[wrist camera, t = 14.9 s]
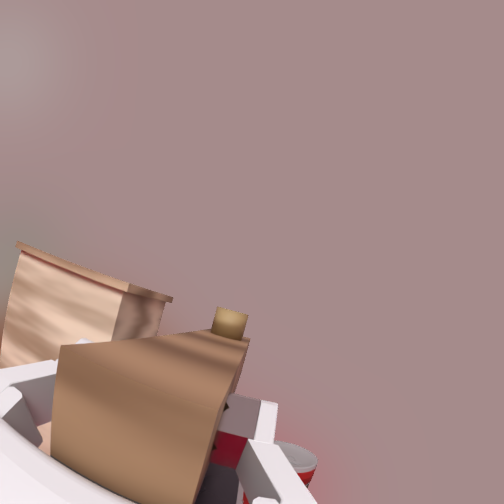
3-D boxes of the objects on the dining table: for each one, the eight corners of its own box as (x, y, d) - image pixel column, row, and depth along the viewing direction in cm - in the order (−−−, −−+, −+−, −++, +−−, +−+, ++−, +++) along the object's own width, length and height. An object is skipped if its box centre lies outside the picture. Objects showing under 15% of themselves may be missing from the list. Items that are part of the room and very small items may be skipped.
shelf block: (92, 536, 13) (129, 283, 19) (-3, 469, 14) (17, 240, 20) (131, 492, 24) (173, 297, 29) (48, 446, 25) (77, 264, 30)
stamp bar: (183, 532, 4) (246, 304, 5) (50, 468, 4) (83, 254, 5) (240, 374, 25) (255, 317, 26) (204, 363, 26) (219, 307, 27)
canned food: (269, 539, 20) (299, 474, 23) (220, 509, 26) (241, 446, 28) (301, 517, 26) (328, 456, 28) (256, 494, 31) (277, 435, 34)
